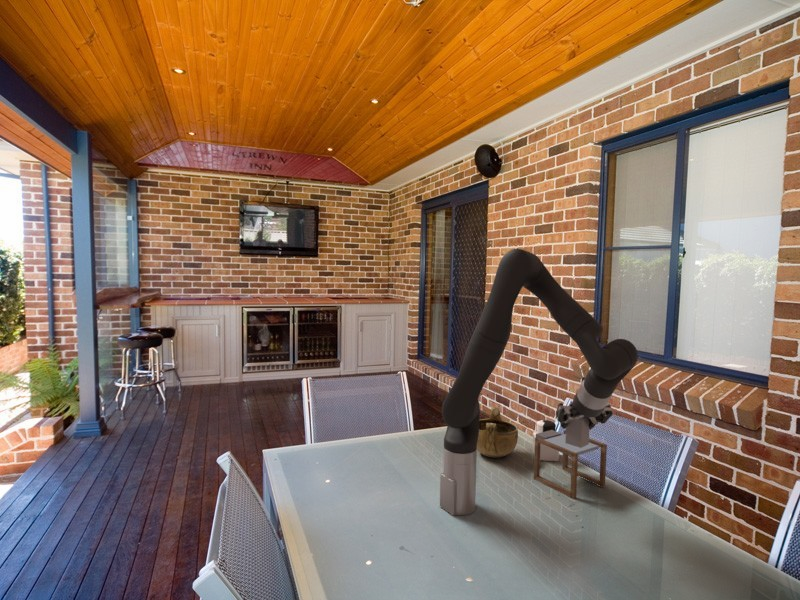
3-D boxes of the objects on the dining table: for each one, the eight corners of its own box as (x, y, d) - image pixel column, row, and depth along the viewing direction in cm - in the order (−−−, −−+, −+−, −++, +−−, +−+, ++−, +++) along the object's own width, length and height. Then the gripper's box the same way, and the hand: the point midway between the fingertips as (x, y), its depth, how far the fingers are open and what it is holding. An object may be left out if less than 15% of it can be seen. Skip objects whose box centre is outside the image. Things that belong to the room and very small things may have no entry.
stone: (580, 447, 123) (582, 411, 122) (565, 443, 126) (566, 407, 125) (588, 444, 126) (590, 408, 125) (573, 439, 129) (574, 404, 128)
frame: (573, 499, 134) (575, 454, 133) (533, 478, 147) (535, 438, 146) (605, 486, 142) (606, 444, 141) (564, 468, 155) (566, 430, 154)
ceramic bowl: (474, 441, 179) (475, 403, 178) (518, 446, 174) (519, 408, 173) (465, 463, 158) (466, 421, 157) (516, 470, 153) (517, 426, 152)
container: (553, 453, 168) (554, 418, 167) (558, 461, 160) (559, 425, 160) (532, 452, 169) (533, 417, 168) (536, 460, 161) (537, 424, 160)
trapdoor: (573, 457, 135) (573, 452, 135) (531, 439, 149) (531, 435, 149) (599, 449, 142) (599, 444, 141) (556, 433, 156) (556, 428, 155)
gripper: (618, 384, 117) (598, 415, 129) (561, 382, 118) (547, 413, 130) (625, 410, 112) (605, 439, 124) (566, 408, 113) (551, 437, 125)
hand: (575, 426), depth 127 cm, fingers closed on stone, 6 cm apart
